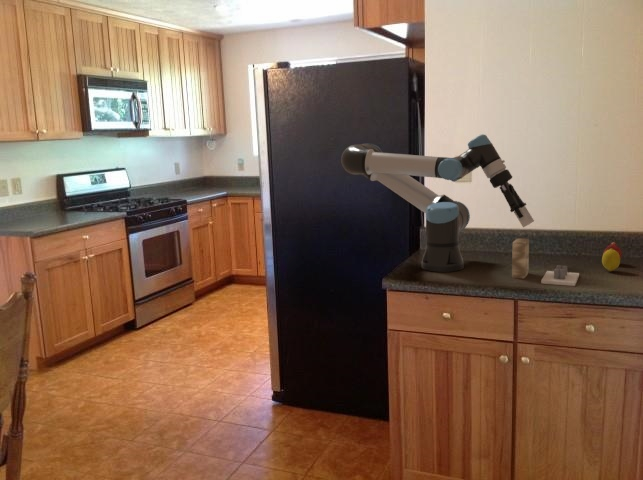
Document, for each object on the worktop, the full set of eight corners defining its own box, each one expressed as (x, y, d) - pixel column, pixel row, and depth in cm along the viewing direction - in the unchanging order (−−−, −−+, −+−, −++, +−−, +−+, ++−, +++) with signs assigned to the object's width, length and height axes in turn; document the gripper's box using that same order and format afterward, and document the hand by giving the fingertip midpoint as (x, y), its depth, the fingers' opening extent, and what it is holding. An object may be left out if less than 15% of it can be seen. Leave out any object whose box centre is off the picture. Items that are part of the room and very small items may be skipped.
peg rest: (541, 283, 189) (541, 271, 188) (547, 273, 201) (547, 262, 201) (574, 286, 184) (575, 273, 184) (579, 276, 197) (579, 264, 196)
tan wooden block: (511, 277, 198) (512, 242, 196) (516, 272, 205) (516, 238, 203) (524, 278, 196) (525, 243, 194) (528, 273, 203) (529, 239, 201)
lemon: (621, 273, 198) (622, 250, 196) (603, 273, 199) (604, 250, 197) (616, 269, 203) (618, 246, 202) (599, 269, 204) (600, 246, 203)
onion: (613, 266, 207) (614, 244, 206) (599, 263, 213) (600, 242, 211) (624, 264, 210) (625, 242, 209) (610, 261, 215) (611, 240, 214)
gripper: (502, 167, 201) (535, 221, 199) (511, 168, 224) (541, 216, 221) (482, 179, 205) (515, 232, 202) (494, 179, 227) (523, 226, 224)
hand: (529, 224), depth 211 cm, fingers open, 13 cm apart
